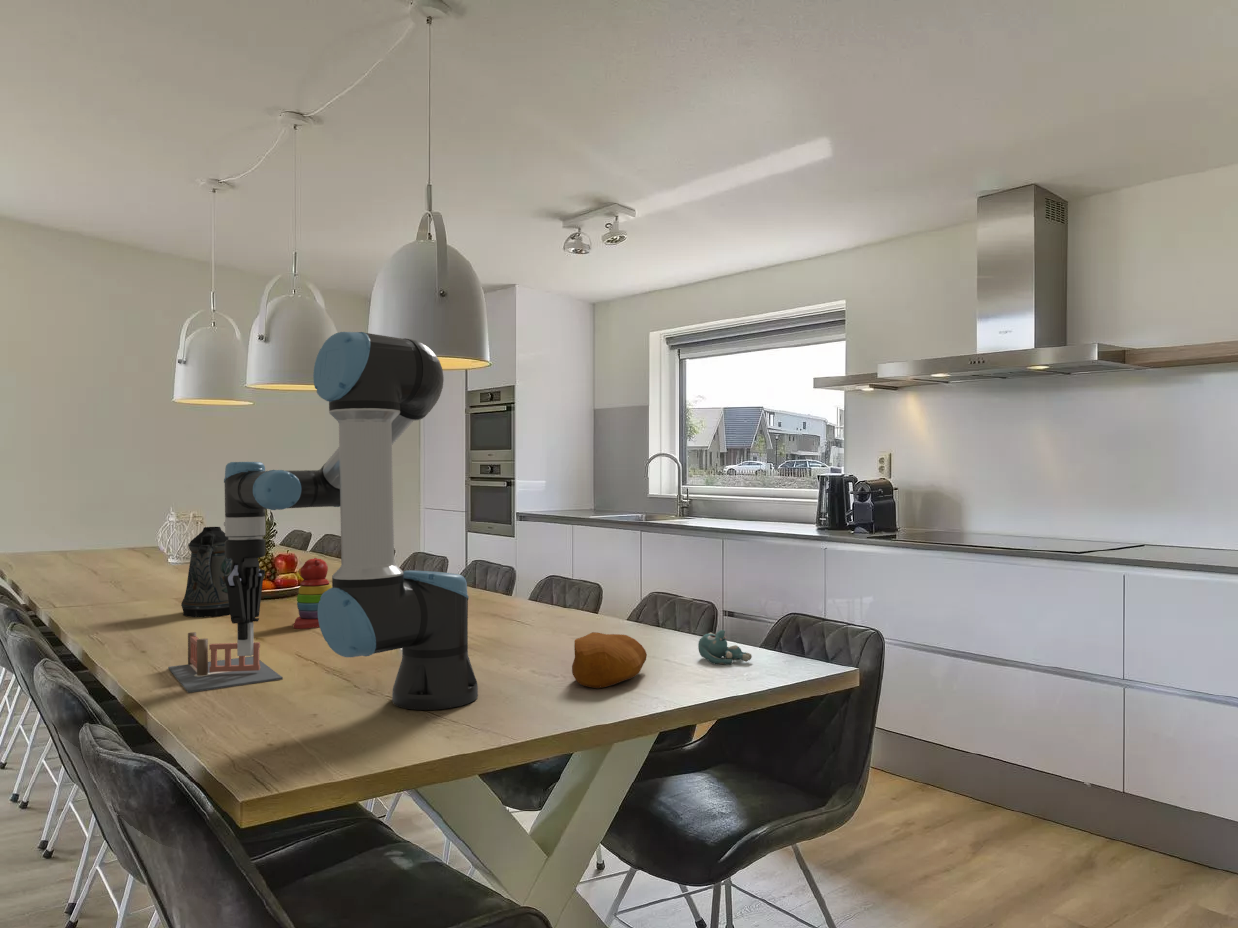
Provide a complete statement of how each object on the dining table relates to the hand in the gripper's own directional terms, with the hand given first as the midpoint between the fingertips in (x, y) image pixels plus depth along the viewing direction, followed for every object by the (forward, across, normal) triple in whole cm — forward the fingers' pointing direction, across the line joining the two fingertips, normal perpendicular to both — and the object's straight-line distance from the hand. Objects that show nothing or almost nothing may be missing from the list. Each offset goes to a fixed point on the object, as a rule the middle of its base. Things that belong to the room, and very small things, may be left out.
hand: (245, 655), depth 173 cm
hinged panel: (+3, -1, -3) cm, 4 cm away
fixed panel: (+4, -5, -12) cm, 14 cm away
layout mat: (+4, -2, -6) cm, 7 cm away
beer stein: (+3, -74, -45) cm, 87 cm away
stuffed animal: (+5, -16, +97) cm, 99 cm away
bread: (+5, +1, +74) cm, 74 cm away
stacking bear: (+3, -57, -9) cm, 58 cm away
